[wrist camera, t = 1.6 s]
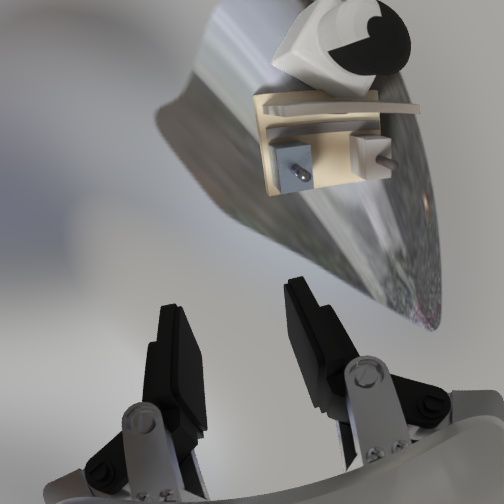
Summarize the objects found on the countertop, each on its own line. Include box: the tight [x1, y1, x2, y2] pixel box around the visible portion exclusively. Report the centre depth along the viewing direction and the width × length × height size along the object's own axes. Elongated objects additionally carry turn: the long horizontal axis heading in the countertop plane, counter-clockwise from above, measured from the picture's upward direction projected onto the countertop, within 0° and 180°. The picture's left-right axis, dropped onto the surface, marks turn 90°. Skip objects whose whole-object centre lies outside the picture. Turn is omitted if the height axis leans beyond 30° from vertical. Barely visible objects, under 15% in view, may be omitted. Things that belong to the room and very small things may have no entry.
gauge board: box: [253, 90, 420, 196], centre depth 23 cm, size 10×13×8 cm
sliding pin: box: [268, 140, 314, 194], centre depth 23 cm, size 4×3×6 cm
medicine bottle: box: [271, 0, 411, 98], centre depth 17 cm, size 7×7×12 cm
